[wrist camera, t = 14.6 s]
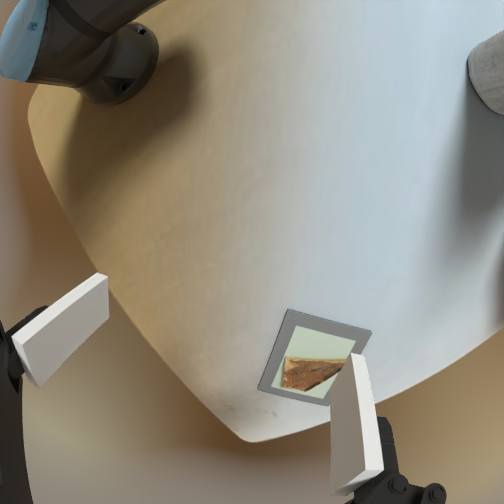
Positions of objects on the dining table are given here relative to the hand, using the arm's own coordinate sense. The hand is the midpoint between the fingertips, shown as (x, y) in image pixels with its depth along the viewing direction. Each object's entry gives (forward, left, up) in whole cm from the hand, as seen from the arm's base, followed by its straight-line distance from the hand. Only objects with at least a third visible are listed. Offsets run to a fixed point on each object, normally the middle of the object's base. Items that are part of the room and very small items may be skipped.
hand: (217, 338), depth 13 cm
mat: (+12, -21, -27) cm, 36 cm away
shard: (+12, -20, -26) cm, 35 cm away
